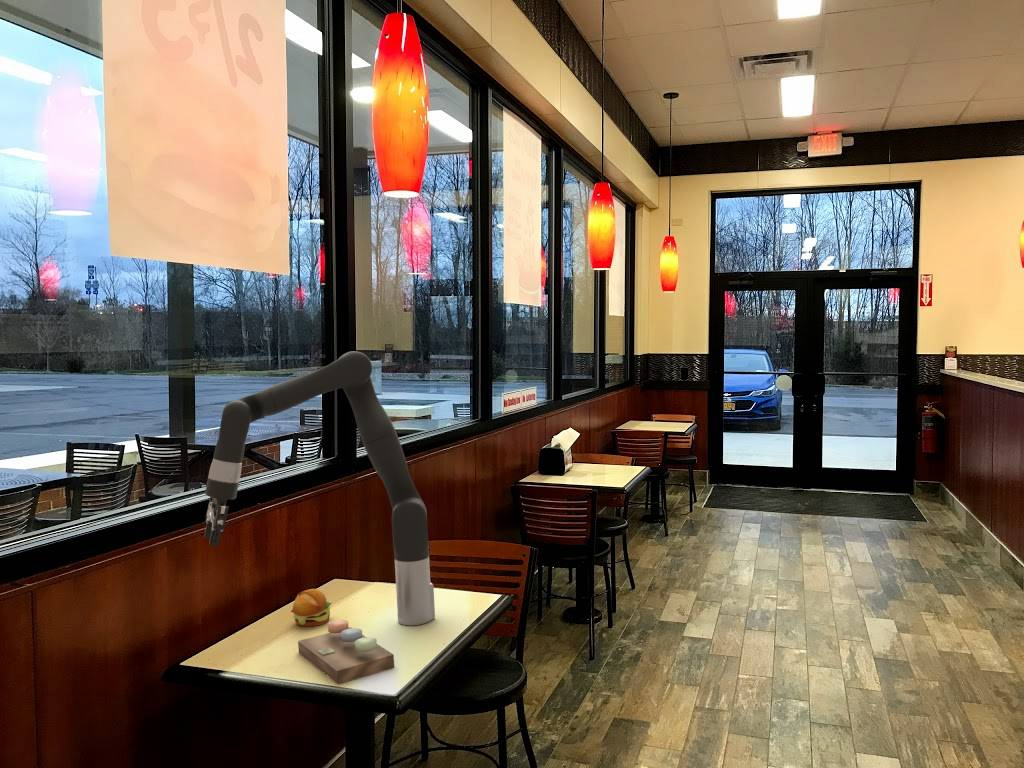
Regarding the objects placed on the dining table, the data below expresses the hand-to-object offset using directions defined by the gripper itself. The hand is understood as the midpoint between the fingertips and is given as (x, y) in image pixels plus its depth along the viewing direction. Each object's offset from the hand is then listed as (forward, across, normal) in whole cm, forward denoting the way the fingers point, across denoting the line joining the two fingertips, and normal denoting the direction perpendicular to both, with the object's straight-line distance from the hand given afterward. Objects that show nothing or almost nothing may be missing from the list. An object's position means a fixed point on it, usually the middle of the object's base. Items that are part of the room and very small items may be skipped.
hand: (211, 541), depth 203 cm
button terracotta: (+15, -19, -31) cm, 39 cm away
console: (+20, -27, -31) cm, 46 cm away
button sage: (+14, -35, -32) cm, 50 cm away
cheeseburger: (+20, +4, -31) cm, 38 cm away
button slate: (+14, -27, -32) cm, 44 cm away
